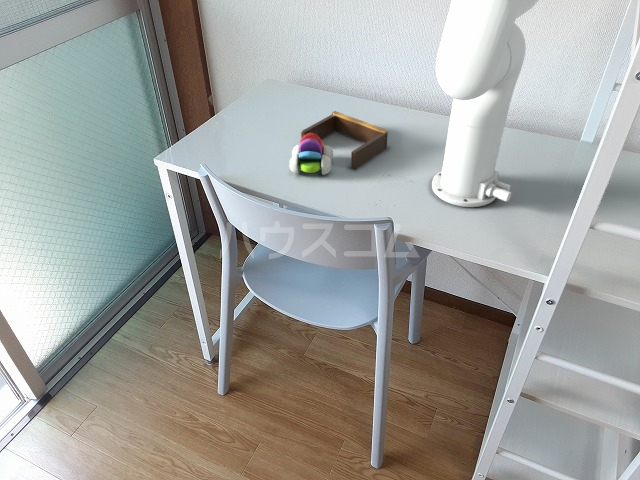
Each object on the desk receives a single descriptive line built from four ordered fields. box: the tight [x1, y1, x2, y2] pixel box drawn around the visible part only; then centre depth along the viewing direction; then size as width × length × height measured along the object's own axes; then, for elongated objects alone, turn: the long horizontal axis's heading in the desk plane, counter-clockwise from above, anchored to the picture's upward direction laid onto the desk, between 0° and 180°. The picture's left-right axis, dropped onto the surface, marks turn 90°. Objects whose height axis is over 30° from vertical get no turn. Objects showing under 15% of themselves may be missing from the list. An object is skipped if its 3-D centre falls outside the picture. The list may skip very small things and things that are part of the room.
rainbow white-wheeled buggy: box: [289, 133, 334, 176], centre depth 106 cm, size 8×10×7 cm
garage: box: [300, 110, 389, 171], centre depth 113 cm, size 15×12×4 cm
